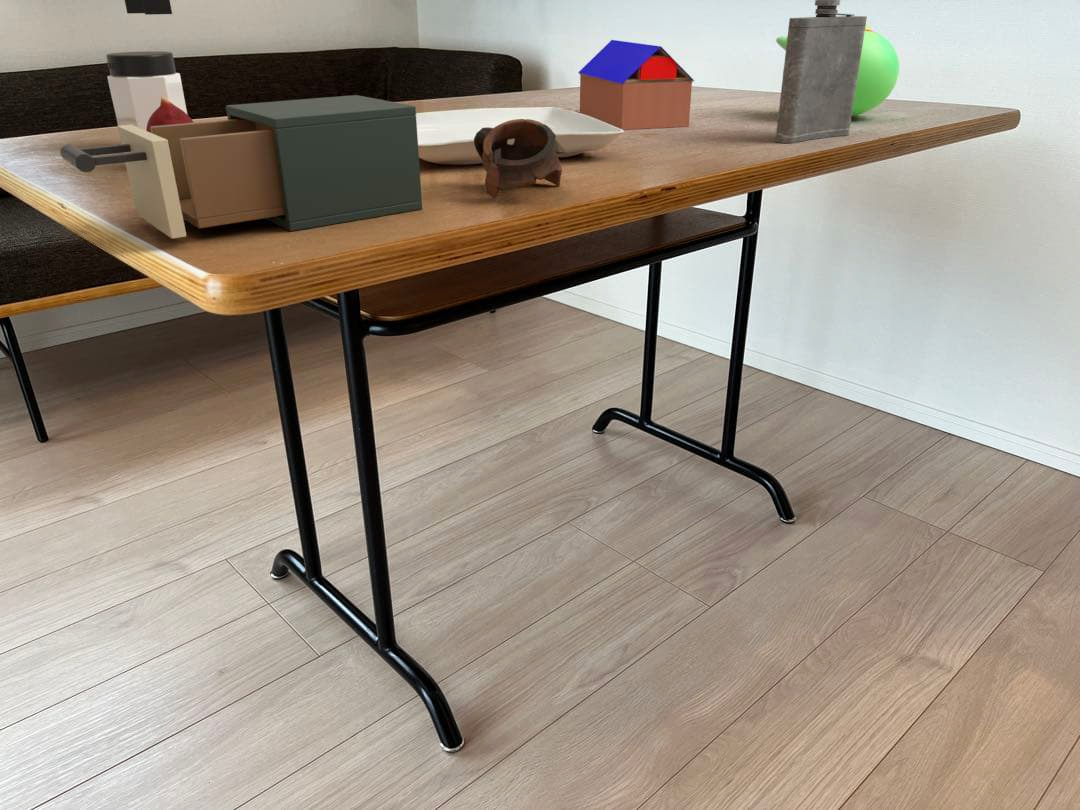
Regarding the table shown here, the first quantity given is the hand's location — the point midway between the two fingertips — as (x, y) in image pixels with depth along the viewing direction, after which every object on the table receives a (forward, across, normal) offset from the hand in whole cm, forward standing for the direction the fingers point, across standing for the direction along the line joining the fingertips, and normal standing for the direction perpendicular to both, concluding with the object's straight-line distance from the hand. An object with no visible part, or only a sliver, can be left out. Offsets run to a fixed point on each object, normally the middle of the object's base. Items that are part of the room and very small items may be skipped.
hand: (149, 13), depth 95 cm
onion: (+17, 0, 0) cm, 17 cm away
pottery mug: (+17, -38, -24) cm, 48 cm away
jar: (+17, +16, -2) cm, 24 cm away
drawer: (+16, -33, +8) cm, 38 cm away
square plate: (+17, -15, -37) cm, 43 cm away
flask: (+17, -36, -78) cm, 88 cm away
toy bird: (+17, -25, -99) cm, 104 cm away
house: (+17, -6, -71) cm, 73 cm away
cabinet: (+17, -33, -5) cm, 37 cm away
